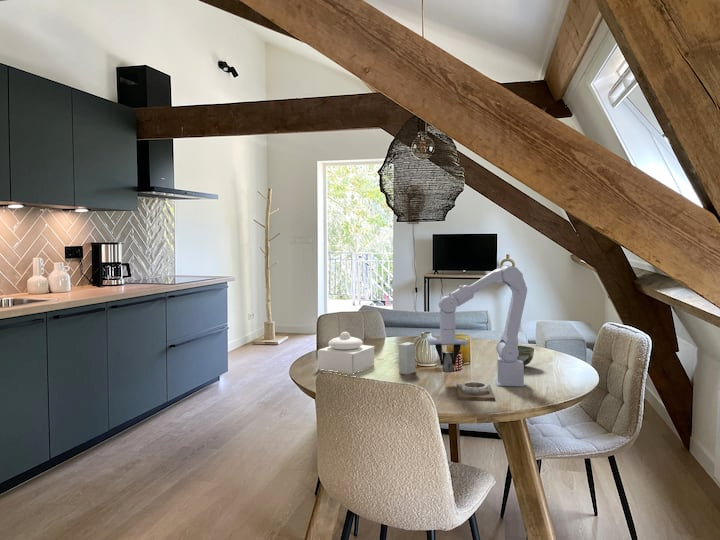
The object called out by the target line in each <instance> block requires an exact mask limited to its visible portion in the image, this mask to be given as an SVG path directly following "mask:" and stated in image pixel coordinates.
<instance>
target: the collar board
mask: <svg viewBox="0 0 720 540" xmlns="http://www.w3.org/2000/svg"><path fill="white" fill-rule="evenodd" d="M455 387H456V392H457V397H458V400H464V401H465V400H466V401H468V400H469V401H496V397H495V394H494V392H493V389H492V387H491V385H490V384H487V383H485V382H482V381H481V382H480V381H465V382H463V383H461V384H460V383H459V384H458V383H457V384H456V385H455Z"/></svg>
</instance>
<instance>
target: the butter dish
mask: <svg viewBox="0 0 720 540" xmlns="http://www.w3.org/2000/svg"><path fill="white" fill-rule="evenodd" d="M327 345H328V346H326V347H323V348H320V349H318V350H317V370H318V369H324V370H333V371H338V372H343V373H342V374H344V373H349V374H348V375H352V374H353V373H356V372H358V371H361V370H363V371H365V370H364V369H366V370H368V369H370V368H372V367H375V348H376V346H375V345H366V344H364V341H363V340H362V339H360V338H359V337H354V336H351V334H350V333H349V332H348V331H343V332H341V333H340V335H339V336H337V337H335V338H331V340H329V341H328V342H327ZM367 368H368V369H367ZM361 372H362V371H361ZM358 373H359V372H358ZM356 374H357V373H356Z"/></svg>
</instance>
